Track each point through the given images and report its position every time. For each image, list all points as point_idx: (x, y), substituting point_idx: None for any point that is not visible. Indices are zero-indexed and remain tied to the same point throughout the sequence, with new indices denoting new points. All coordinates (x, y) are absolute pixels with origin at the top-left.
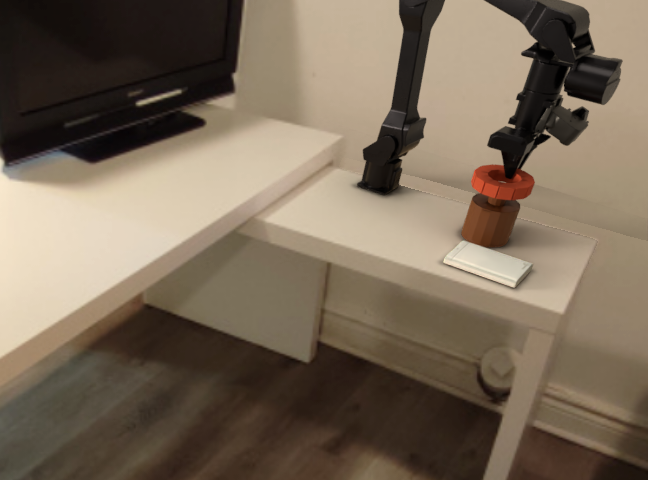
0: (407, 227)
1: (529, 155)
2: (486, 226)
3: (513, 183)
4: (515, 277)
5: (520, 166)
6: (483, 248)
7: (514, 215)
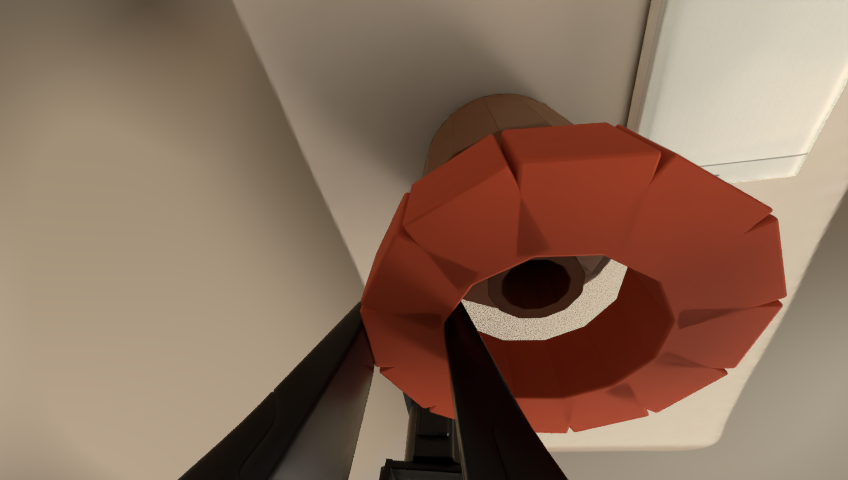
0: (581, 311)
1: (280, 407)
2: None
3: (653, 266)
4: None
5: (359, 342)
6: (665, 114)
7: (547, 121)
